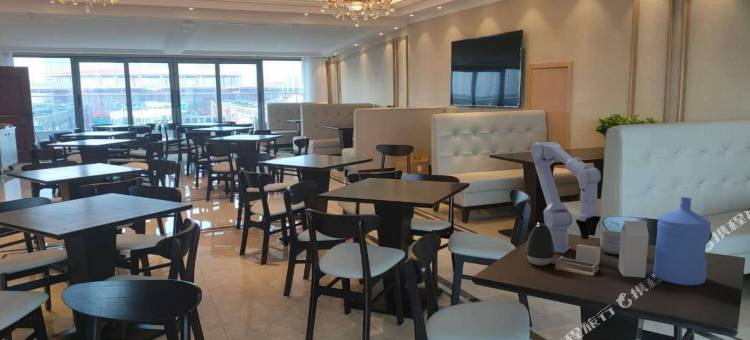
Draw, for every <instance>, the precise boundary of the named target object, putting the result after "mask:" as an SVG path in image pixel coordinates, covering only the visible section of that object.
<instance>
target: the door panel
mask: <svg viewBox="0 0 750 340" xmlns="http://www.w3.org/2000/svg"><path fill="white" fill-rule="evenodd" d="M601 250H602V248H601V246H593V245H587V244H582V243H578V244H576V253H575V260H579V261H584V262H590V263H598V265H599V264H600V262H601V261H600V260H601Z"/></svg>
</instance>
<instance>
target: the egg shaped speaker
mask: <svg viewBox="0 0 750 340" xmlns="http://www.w3.org/2000/svg"><path fill="white" fill-rule="evenodd" d="M555 253H556V252H555V250H554V243H553V238H552V235H551V232H550V230H549V228H548V226H546V225H545V223H540V222H537V223H536V224H535V226H534V227H533V228H532V230H531V232H530V234H529V237H528V239H527V243H526V247H525V254H526V257H527V260H528V262H529V263H531V264H533V265H535V266H538V267H539V266H541V267H543V266H544V267H546V266H547V265H549V264H551V263H552V262H553V260H554V257H555V255H556V254H555Z"/></svg>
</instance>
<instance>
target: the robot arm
mask: <svg viewBox="0 0 750 340" xmlns="http://www.w3.org/2000/svg"><path fill="white" fill-rule="evenodd" d="M530 152H531V155H532V159H533V163H534V166H535V169H536V173H537V176H538V180H539V183H540V187H541V190H542V192H543V196H544V200H545V203H546V207H545V208H544V210H543V213H542V214H543V221H544V224H545V225H546V226H548V228H549V230H550V232H551V235H552V238H553V243H554V250H555V253H559V254H565V253H566V252H568V250H569V249H571V246H569V235H570V234H569V228H570V226H571V225H573V215H572V213H571V212H570V210H569V208H568V207H567V205H565V204H563V203H562V202H561V199H560V195H559V192H558V189H557V186H556V183H555V179H554V176H553V174H552V169H551V165H552V164H553V163H554V162H555V161H556V160H558V161H559V162H561V163H563V164H564V165H565V167H566V170H567V171H569V172H570V173H571V174H573V175H574V176H575V177H576V178H577V182H578V185H579V186H578V187H579V189H580V200H579V201H580V206H579V207H580V210H579V216H578V217H579V218H577V219H575V222H576V224H577V226H578V229H579V233H580V237H581V239H582V240H589V237H590V236H593V237H594V236H595V235H596V232H597V228H598V225H599V222H600V220H601V218H602V216H601V213H600V212H598V183H599V182H601V179H602V174H601V171H600V170H599V169H598V168H597V167H590V165H589V164H586V163H585V162H584V161H582V159H581V158H580V157H572V156H571V155H570V154H568V152H567V151H565V150H564V149H563V148H562V146H561V144H560V143H558V142H557V141H547V142H539V141H538V142H535V143H534V144H533V145H532V149H531V151H530Z"/></svg>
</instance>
